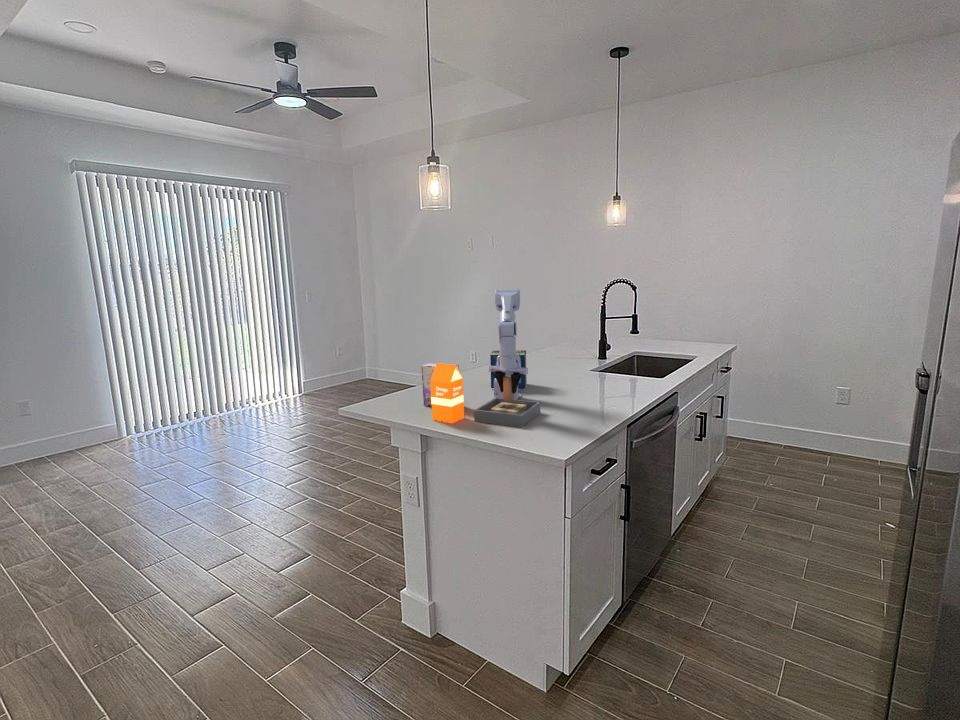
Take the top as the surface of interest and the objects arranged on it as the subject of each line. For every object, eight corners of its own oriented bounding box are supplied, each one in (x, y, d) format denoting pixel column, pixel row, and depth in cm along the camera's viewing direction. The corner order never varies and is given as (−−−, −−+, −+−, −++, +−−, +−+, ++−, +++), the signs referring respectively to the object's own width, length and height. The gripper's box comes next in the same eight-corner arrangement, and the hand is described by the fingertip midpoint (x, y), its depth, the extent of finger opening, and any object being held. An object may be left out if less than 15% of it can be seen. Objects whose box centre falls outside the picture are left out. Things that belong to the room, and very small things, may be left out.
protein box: (493, 383, 235) (492, 350, 232) (526, 383, 233) (526, 350, 230) (490, 389, 225) (489, 354, 222) (525, 389, 223) (525, 354, 220)
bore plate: (490, 414, 185) (490, 409, 185) (502, 407, 194) (501, 402, 193) (516, 417, 181) (516, 411, 180) (526, 409, 189) (526, 404, 189)
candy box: (461, 405, 201) (459, 364, 198) (454, 409, 196) (452, 367, 193) (430, 402, 207) (428, 362, 204) (423, 406, 201) (420, 364, 198)
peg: (501, 399, 186) (500, 377, 184) (506, 396, 189) (506, 375, 188) (511, 400, 184) (510, 378, 182) (516, 398, 187) (515, 376, 185)
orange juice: (452, 423, 178) (449, 367, 175) (431, 420, 183) (429, 365, 179) (464, 417, 185) (462, 363, 181) (444, 414, 190) (442, 361, 186)
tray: (474, 421, 180) (473, 410, 180) (495, 407, 196) (495, 397, 195) (521, 427, 172) (521, 415, 172) (540, 412, 188) (540, 402, 187)
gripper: (484, 356, 183) (485, 393, 185) (522, 358, 176) (522, 396, 179) (493, 352, 189) (493, 388, 192) (529, 355, 183) (530, 392, 185)
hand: (508, 392), depth 186 cm, fingers closed on peg, 4 cm apart
